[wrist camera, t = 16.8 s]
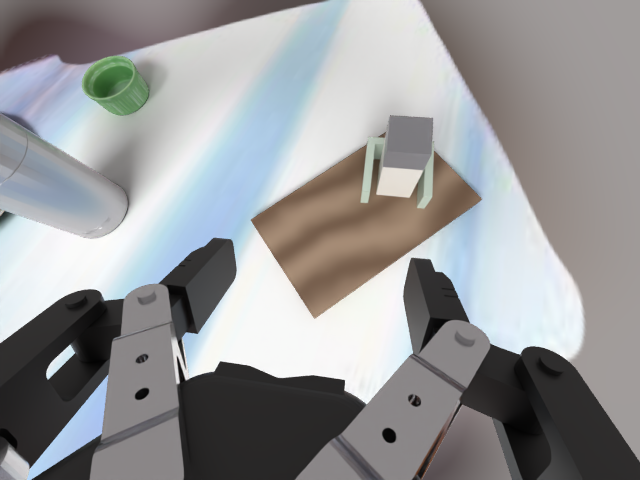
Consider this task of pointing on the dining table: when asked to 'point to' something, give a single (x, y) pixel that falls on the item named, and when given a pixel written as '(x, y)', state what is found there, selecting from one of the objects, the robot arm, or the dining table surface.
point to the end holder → (375, 153)
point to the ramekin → (115, 85)
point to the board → (354, 228)
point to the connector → (404, 155)
